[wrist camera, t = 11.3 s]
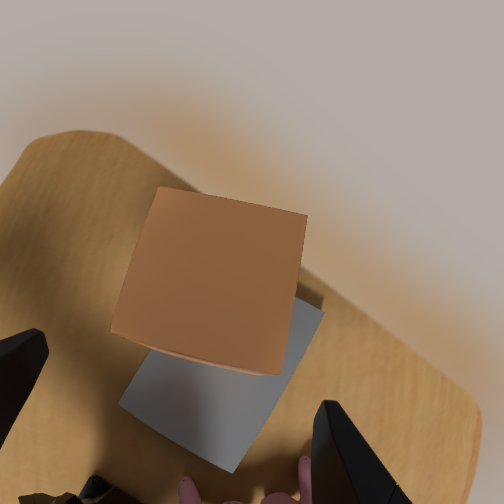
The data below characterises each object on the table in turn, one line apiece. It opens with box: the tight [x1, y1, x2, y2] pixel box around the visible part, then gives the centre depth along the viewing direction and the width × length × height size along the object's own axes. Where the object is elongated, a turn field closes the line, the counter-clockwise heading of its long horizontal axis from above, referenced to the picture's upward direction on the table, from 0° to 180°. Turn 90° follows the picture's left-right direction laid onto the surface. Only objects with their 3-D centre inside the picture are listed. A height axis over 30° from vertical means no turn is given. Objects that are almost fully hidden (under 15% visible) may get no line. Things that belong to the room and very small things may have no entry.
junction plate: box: [118, 297, 325, 474], centre depth 19 cm, size 13×9×4 cm
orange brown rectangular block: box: [109, 186, 307, 376], centre depth 16 cm, size 6×6×10 cm
